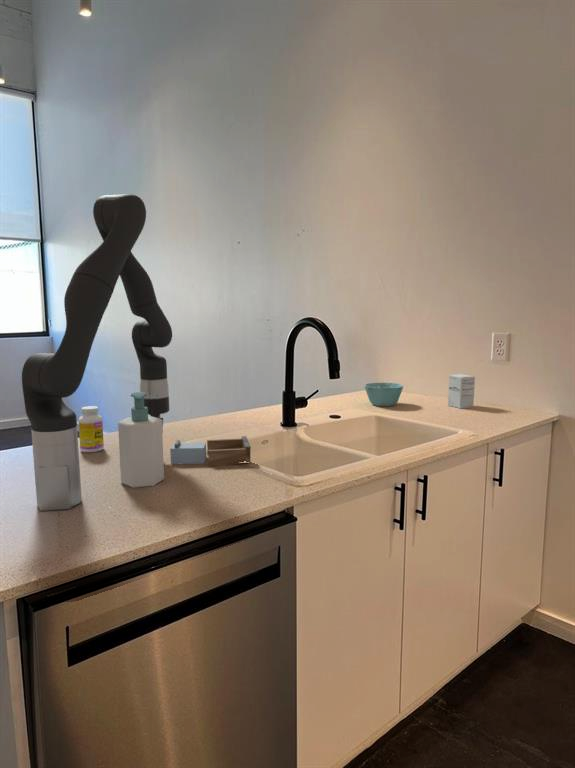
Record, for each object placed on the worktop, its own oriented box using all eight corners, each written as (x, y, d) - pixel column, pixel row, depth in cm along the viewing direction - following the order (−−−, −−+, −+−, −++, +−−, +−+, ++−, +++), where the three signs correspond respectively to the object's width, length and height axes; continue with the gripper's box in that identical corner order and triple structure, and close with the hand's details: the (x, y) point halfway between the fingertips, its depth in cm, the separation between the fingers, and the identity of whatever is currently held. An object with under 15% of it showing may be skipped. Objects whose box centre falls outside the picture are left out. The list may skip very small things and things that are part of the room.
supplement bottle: (96, 453, 167) (94, 410, 165) (75, 452, 168) (73, 409, 166) (108, 447, 173) (105, 405, 171) (88, 446, 174) (85, 404, 172)
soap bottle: (121, 489, 136) (116, 397, 133) (121, 477, 145) (116, 391, 142) (165, 485, 139) (161, 395, 136) (163, 473, 148) (159, 389, 144)
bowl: (357, 402, 242) (358, 382, 240) (391, 400, 246) (392, 381, 245) (374, 409, 227) (374, 388, 226) (409, 406, 232) (410, 386, 230)
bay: (250, 463, 156) (250, 446, 156) (208, 465, 155) (208, 449, 154) (246, 451, 168) (246, 436, 167) (207, 453, 166) (207, 437, 165)
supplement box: (447, 405, 234) (448, 374, 232) (461, 404, 237) (462, 373, 235) (459, 408, 227) (461, 377, 225) (474, 407, 230) (475, 375, 228)
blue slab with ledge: (204, 464, 157) (203, 444, 156) (170, 464, 156) (170, 445, 156) (206, 457, 163) (205, 438, 162) (174, 458, 162) (173, 439, 162)
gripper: (168, 399, 149) (170, 463, 152) (169, 390, 162) (171, 450, 165) (138, 400, 148) (141, 465, 151) (142, 391, 161) (144, 451, 164)
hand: (157, 457), depth 158 cm, fingers closed
